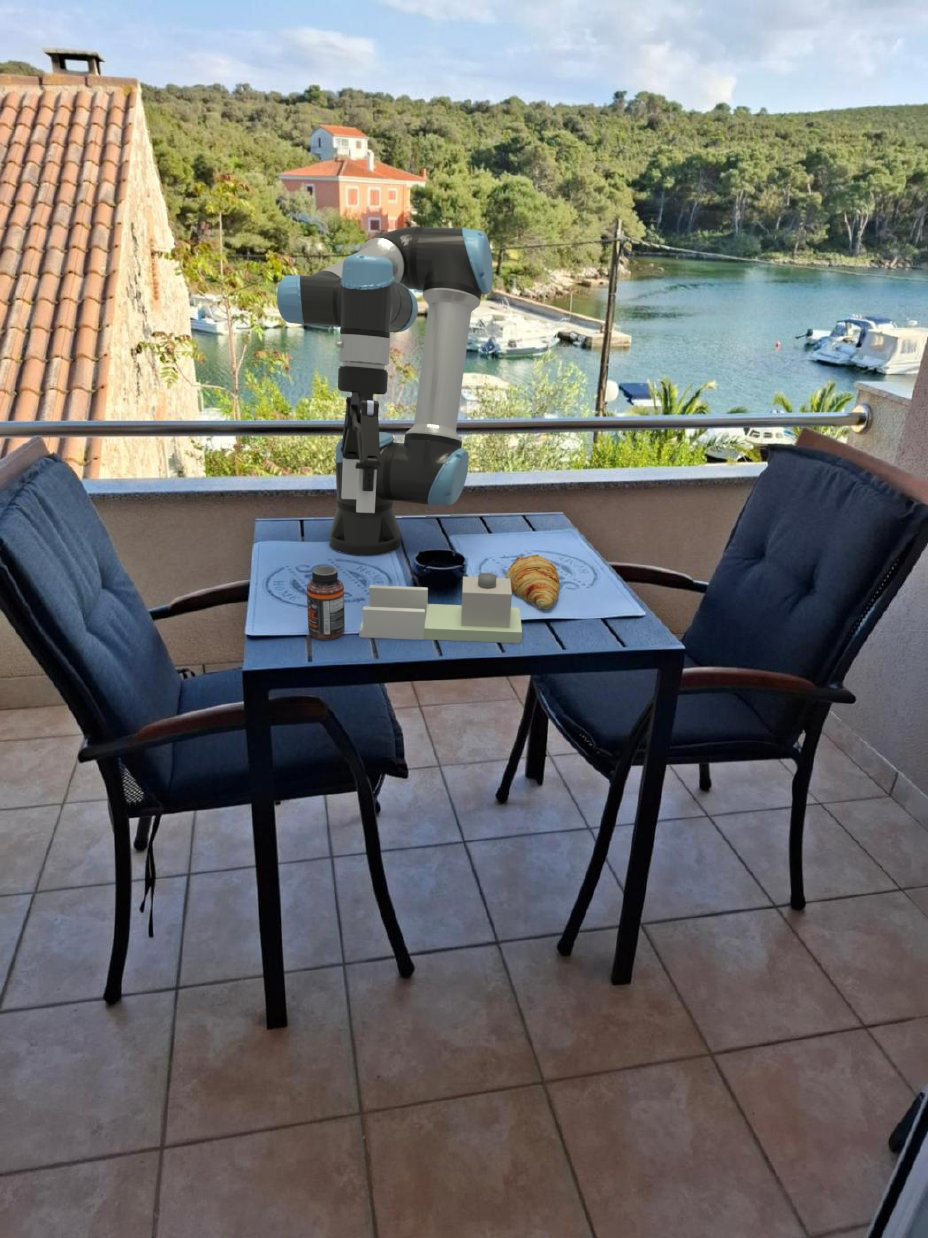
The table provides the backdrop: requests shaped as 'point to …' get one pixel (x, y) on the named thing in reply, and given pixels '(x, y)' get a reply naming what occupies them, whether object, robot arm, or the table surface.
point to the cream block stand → (444, 613)
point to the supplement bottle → (325, 604)
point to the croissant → (535, 580)
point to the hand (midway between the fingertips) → (357, 505)
